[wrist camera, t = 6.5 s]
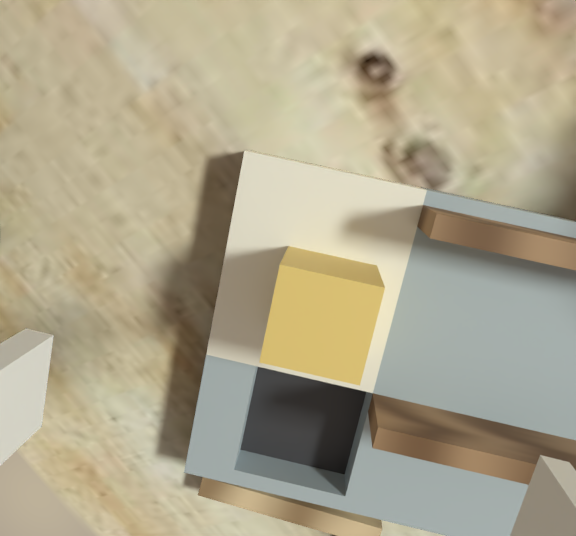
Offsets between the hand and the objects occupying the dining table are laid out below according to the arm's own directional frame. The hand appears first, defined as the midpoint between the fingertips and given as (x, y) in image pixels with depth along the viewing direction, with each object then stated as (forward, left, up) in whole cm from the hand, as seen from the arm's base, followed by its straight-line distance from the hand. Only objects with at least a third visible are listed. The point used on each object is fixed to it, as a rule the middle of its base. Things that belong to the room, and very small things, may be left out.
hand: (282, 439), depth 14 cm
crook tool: (+2, -17, -19) cm, 26 cm away
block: (+1, -1, -17) cm, 17 cm away
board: (+9, -4, -19) cm, 21 cm away
